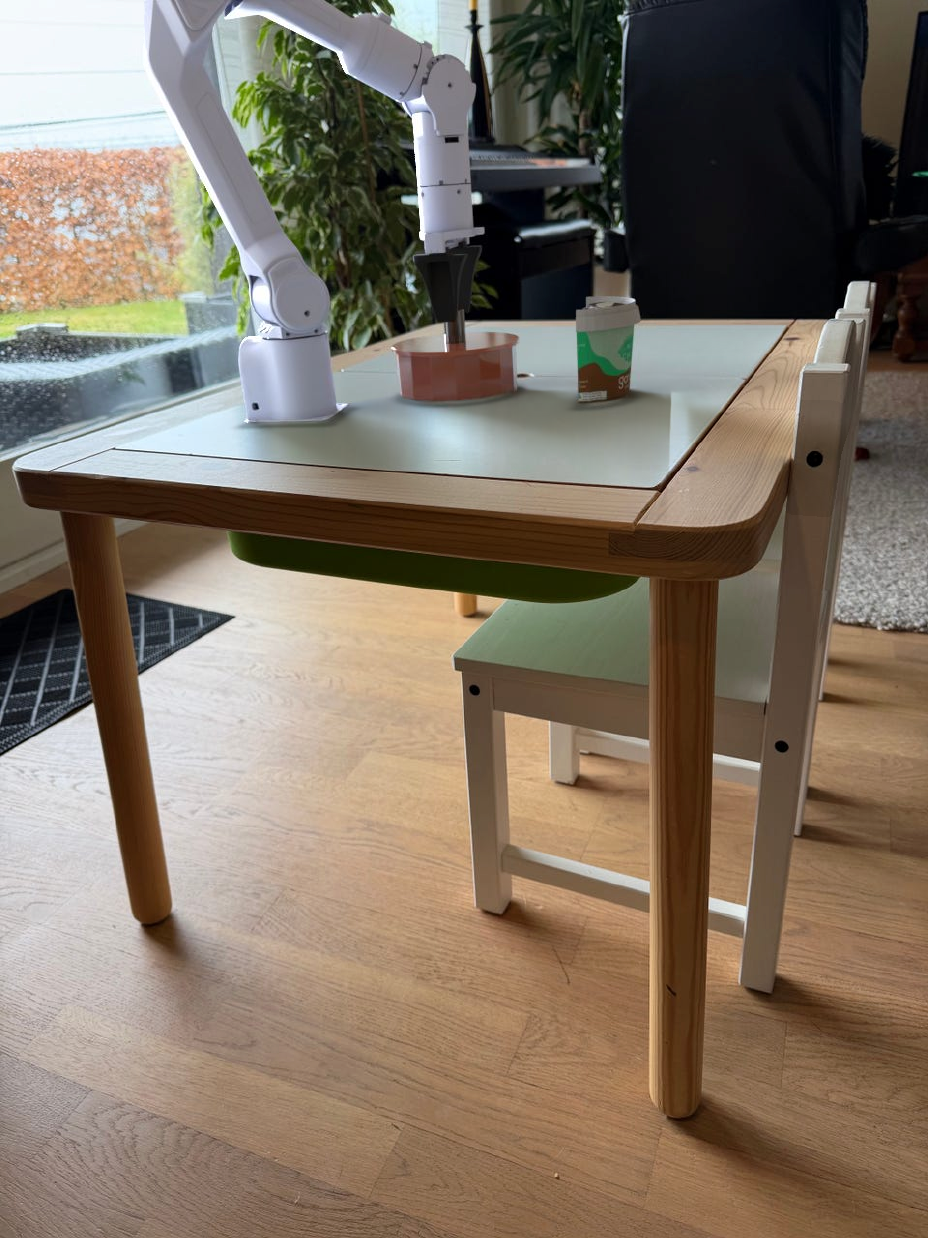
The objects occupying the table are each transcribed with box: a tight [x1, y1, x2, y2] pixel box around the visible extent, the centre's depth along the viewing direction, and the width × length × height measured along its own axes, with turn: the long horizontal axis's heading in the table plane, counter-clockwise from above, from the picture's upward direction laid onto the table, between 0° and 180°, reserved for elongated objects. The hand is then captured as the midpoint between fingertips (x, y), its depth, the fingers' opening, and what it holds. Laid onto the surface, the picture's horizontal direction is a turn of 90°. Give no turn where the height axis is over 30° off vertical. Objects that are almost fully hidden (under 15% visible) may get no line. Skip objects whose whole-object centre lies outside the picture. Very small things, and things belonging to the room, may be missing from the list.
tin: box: [395, 345, 519, 402], centre depth 110 cm, size 14×14×5 cm
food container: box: [575, 295, 642, 404], centre depth 100 cm, size 12×6×10 cm, turn 168°
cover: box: [391, 308, 520, 357], centre depth 108 cm, size 15×15×5 cm
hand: (453, 317), depth 107 cm, fingers open, 7 cm apart
